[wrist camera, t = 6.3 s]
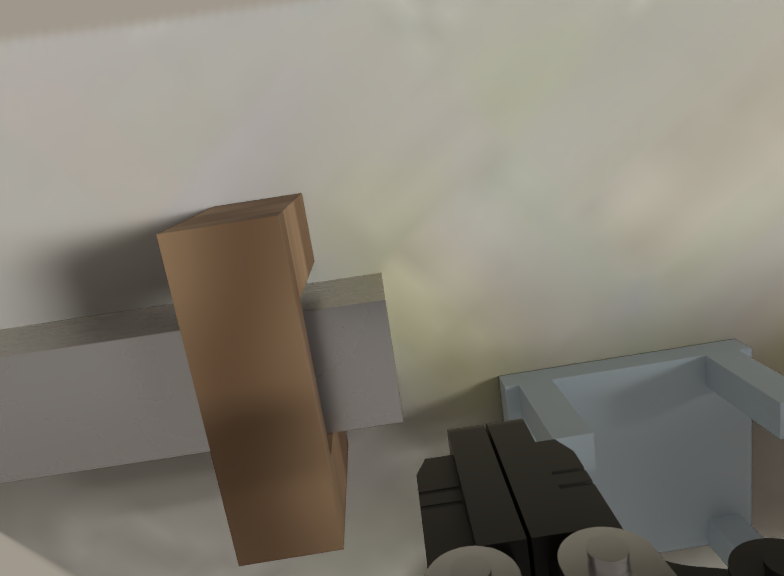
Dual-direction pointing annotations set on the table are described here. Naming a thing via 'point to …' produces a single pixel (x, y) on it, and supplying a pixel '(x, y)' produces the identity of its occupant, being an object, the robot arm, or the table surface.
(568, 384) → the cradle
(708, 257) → the table surface
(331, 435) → the wooden arch block
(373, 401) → the steel bar
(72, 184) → the table surface
